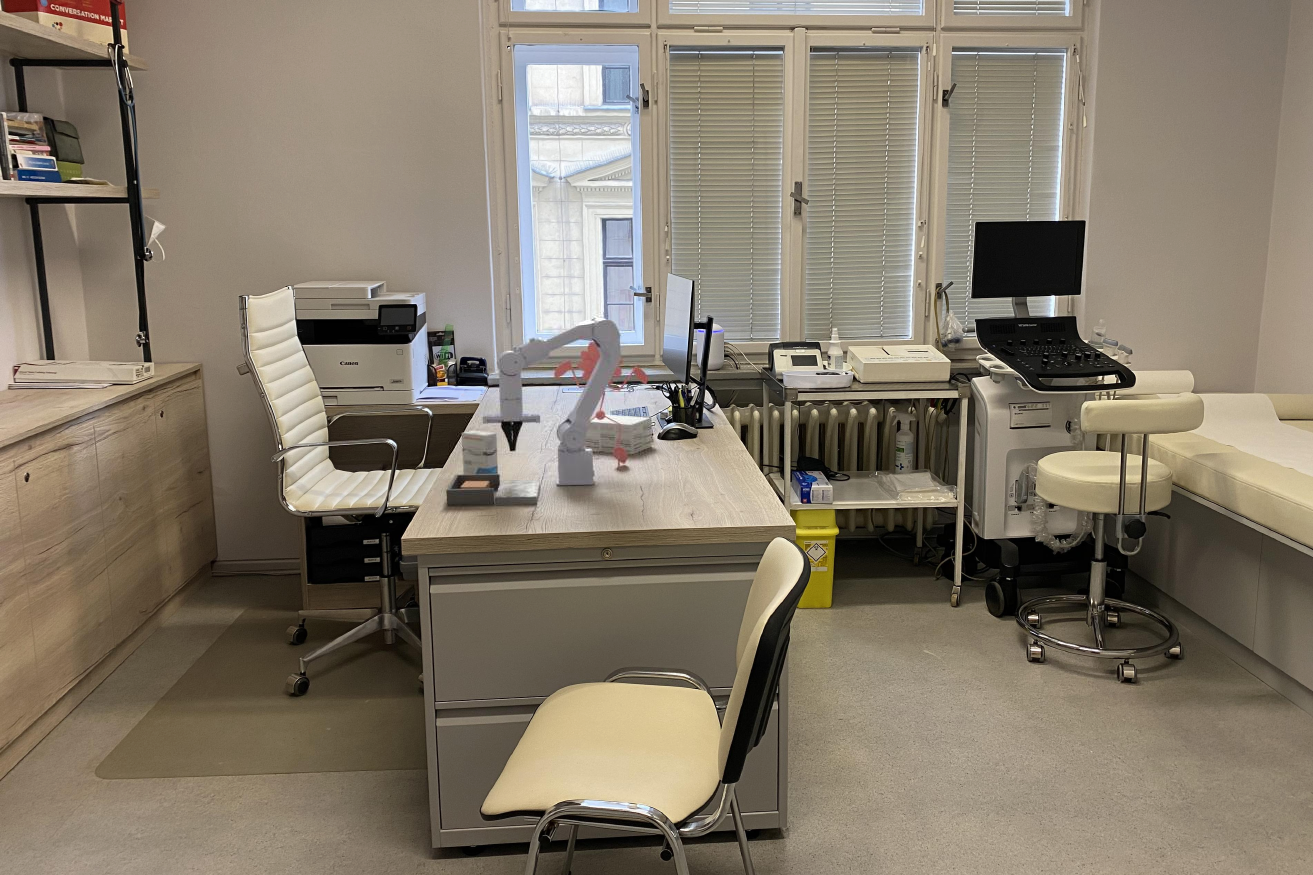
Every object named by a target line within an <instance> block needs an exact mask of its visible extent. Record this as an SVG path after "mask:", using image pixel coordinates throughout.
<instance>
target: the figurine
mask: <svg viewBox="0 0 1313 875" xmlns="http://www.w3.org/2000/svg"><path fill="white" fill-rule="evenodd" d="M580 356H581V359H582V360H580V361H579V362H577V365H576V366H577V368H578V369H580V370H581V371H583V373H582V376H581V377H582V379H583V380H585V381H586V380H587V381H588V380H589V378H590V376H591V374H592V372H593V370H594V368H595V366H596V364H597V362H598V360H599V358H600V354H599V351H598V349H597V346H596V344H595V343H594V341H590V342H589V343H588V346H587V350H582V351H581V352H580ZM571 362H572V361H571V359H568V360H565V361H564V362H561V364H559V365H558V366H557V367H556V369H555V370H554V374H553V375H554V376H553V377H554V380H556V379H558V378H560V377H562V376H564V375H565V374H566V373H568V371H570V370H571V373H572V375H573V378H574V380H575V383H576V385H577V387H578V389H582V388H583V389H584V388H585V386H586V384H585V385H580V383H579V380H578V378H577V376H576V373H575V371H574V367H573V365H572V363H571ZM623 362H624V360H623V358H622V357H621V359H620V362H619V364H618V366H617V368H616V370H615V372H614V373H613V375H612V377H611V379H610V381H609V383H608V385H607V387H606V389H607V388H608V389H611V390H614V391H618V392H621V390H622V389H623V388H624V386H625V385H626V384H627V382H628V381H629V379H630V378H631V377H632V376H633V375H634V377H635V378H636V379H637V381H639V382H641V383H642V384H644V385H647V383H648V379H649V378H648V375H647V373H646V372H645V371H644V370H643V369H642V368H640V367H638V366H634V367H633V370H632V371H631V372H630V374H629V376H627V378H626V379H625V380H624V382H622V385H621V386H620V387H619V388H616V387H613V386H610V385H611V384H613V381H614V377H620V376H622V373H623V372H622V368H621V367H620V365H622V364H623ZM605 396H606V390H605V391H604V393H603V395H602V397H601V402H600V407H599V410H597V411H596V412H595V416H593V417H591V418H592V419H591V418H590V419H591V420H590V421H592V420H593V419H595V418H597V419H598V420H602V419H604V418H605V417H606V418H608V417H607V416H605V415H606V413H605V412H604V410H602V409H603V404H604V399H605ZM608 419H609V420H611V421H613V422H615V423H617V424H619V425H620V423H618V422H616V421H614V420H612V419H610V418H608ZM620 432H621V425H620V428H619V442H618V447H615V448H614V451H613V453H612V454H613V457H614V459H615V460H616V461H617V468H618V470H621V464H623V465H625V464H626V462H627V460H628V457H629V456H628V454H627V452H626V451H625V450H624V449H623V448H622V447H619V446H620ZM584 446H585V444H584ZM585 448H586V447H585ZM586 449H590V448H588V447H587V448H586ZM599 458H600V457H598V458H597V457H596V458H594V460H600V459H599Z"/></svg>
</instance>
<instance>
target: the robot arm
mask: <svg viewBox="0 0 1313 875" xmlns="http://www.w3.org/2000/svg"><path fill="white" fill-rule="evenodd" d="M621 336H622V335H621V333H620V330H619V328H618V326H617V324H616V323H615V322H614V321H612V320H611V319H608V318H607V319H606V318H605V317H602V316H595V317H593V318H591V319H587V320H583V321H581V322H579V323H577V324H574V325H573V326H571V327H569V328H567V329H565V330H564V329H563V331H561V332H558V333H557V334H554V335H553V336H551V337H548V338H547V339H544V338H541V337H536V338H535V337H534V336H533V337H531V338H529V341H528V342H525V343H523V344H520V345H519V346H516V345H514V346H512V350H505V351H503V352H501V353H500V355H499V356H498V357H497V361H496V365H497V368H498V369H499V375H498V376H499V377H498V378H499V381H498V383H499V384H498V386H499V389H498V390H499V413H497V414H484V415H482V424H485V425H486V424H500V429H501V430H502V432H503V435H504V436H505V438H506V440H507V443H508V448H509V452H516V450H517V442H518V437H519V434H520V433H521V428H522V426H523V424H525V423H526V424H527V423H530V424H531V423H535V424H540V423H541V414H540V413H539V414H538V413H537V414H536V413H535V414H534V413H524V411H523V410H524V409H523V381H522V370H523V369H524V368H525V369H527V368H529V367H531V366H533V365H536V364H538V363H540V362H542V361H544V360H547V359H549V358H550V357H549V356H550V354H551V352H552V351H555V350H557V349H559V348H562V347H565V346H568V345H570V344H572V343H574V342H577V341H580V340H581V341H590V342H594V343H595V344H596V346H597V349H598V351H599V354H600V358H599V360H598V362H597V364H596V366H595V368H594V370H593V372H592V374H591V376H590V378H589V380H587V382H586V383H585V385H586V386H585V385H584V386H585V387H584V388H583V390H582V392H581V394H580V396H579V398H578V399H577V401H576V404H575V406H574V408H573V409H572V411H570V412H569V413H568V414H567V417H566V418H565V420H564V421H563V422H561V423H560V424H559V425H558V426H557V429H556V437H557V439H558V441H560V443H559V445H558V446H557V470H558V471H557V473H558V476H556V477H557V478H556V483H555V484H556V486H587V485H589V486H590V485H591V486H592V485H593V484H594V477H595V469H594V456H593V454H594V451H593V449H586V448H585V446H584V444H585V442H586V433H587V430H588V428H589V423H590V419H591V418H592V417H593V414H594V412H595V411H596V409H597V407H598V404H599V402H600V400H602V397H603V393H604V391H605V392H606V389H607V386H609V385H608V383H609V381H610V379H611V377H612V375H613V373H614V372H615V370H616V368H617V366H618V364H619V362H620V359H621V358H622V354H621Z"/></svg>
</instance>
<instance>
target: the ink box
mask: <svg viewBox="0 0 1313 875" xmlns="http://www.w3.org/2000/svg"><path fill="white" fill-rule="evenodd" d="M497 440H498V439H497V433H496V432H489V431H479V430H469V431H465V432H461V448H462V451H461V452H462V469H463V470H462V474H499V470H498V468H499V466H498V464H499V463H498V446H497V444H498V441H497Z"/></svg>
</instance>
